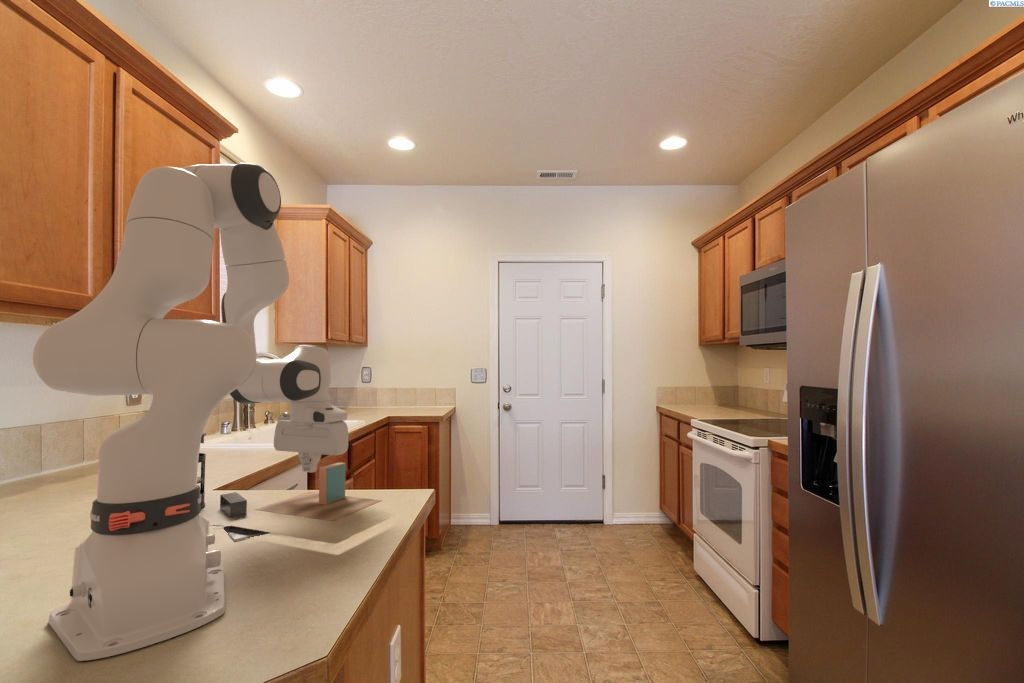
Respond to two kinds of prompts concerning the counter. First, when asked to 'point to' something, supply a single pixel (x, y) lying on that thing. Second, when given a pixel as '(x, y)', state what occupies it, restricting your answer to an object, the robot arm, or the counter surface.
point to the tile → (331, 483)
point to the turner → (237, 516)
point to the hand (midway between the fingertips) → (309, 471)
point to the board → (318, 506)
